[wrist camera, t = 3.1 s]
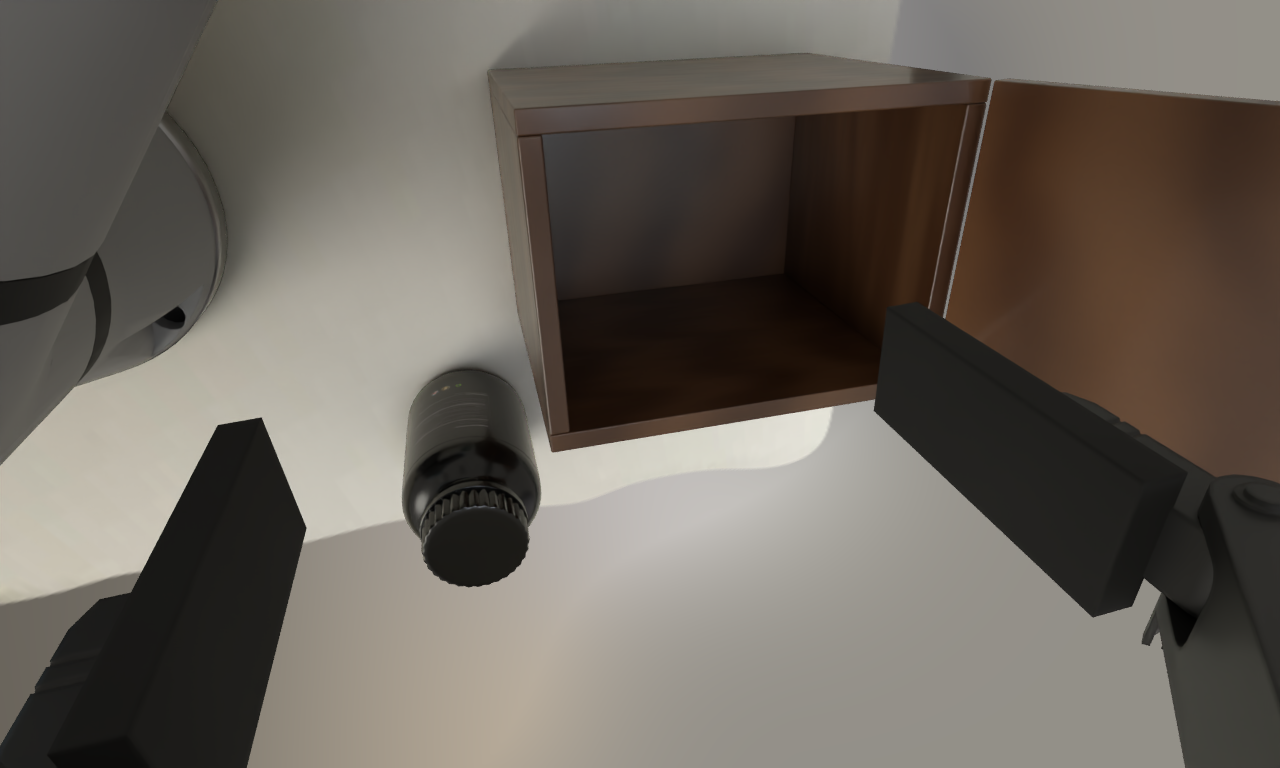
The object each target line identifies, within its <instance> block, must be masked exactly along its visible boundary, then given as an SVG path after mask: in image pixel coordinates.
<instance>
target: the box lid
mask: <svg viewBox="0 0 1280 768" xmlns="http://www.w3.org/2000/svg"><path fill="white" fill-rule="evenodd" d="M945 319H946V320H947V321H949V322H950V323H952V324H954V325H955V326H957V327H958V328H960V329H961V330H963V331H965V332H966V333H968V334H969V335H971V336H973V337H974V338H976V339H977V340H979V341H980V342H982V343H984V344H985V345H987V346H988V347H990V348H992V349H993V350H995V351H996V352H998V353H1000V354H1001V355H1003V356H1004V357H1006V358H1007V359H1009V360H1011V361H1012V362H1014V363H1015V364H1017V365H1019V366H1020V367H1022V368H1023V369H1025V370H1026V371H1028V372H1030V373H1031V374H1033V375H1034V376H1036V377H1038V378H1039V379H1041V380H1042V381H1044V382H1046V383H1047V384H1049V385H1050V386H1052V387H1053V388H1055V389H1057V390H1058V391H1060V392H1067V393H1069V394H1072V395H1075V396H1078V397H1080V398H1083V399H1086V400H1088V401H1091V402H1094V403H1096V404H1098V405H1099V406H1101V407H1103V408H1104V409H1106V410H1108V411H1109V412H1111V413H1112V414H1114V415H1116V416H1117V417H1119V418H1120V421H1121V422H1123V421H1125V422H1127V423H1129V424H1130V425H1132V426H1134V427H1135V428H1137V429H1138V430H1140V433H1141V434H1147V435H1148V436H1150V437H1152V438H1153V439H1155V440H1156V441H1158V442H1160V443H1161V444H1163V445H1165V446H1166V447H1168V448H1169V449H1171V450H1173V451H1174V452H1176V453H1178V454H1179V455H1181V456H1182V457H1184V458H1186V459H1187V460H1189V461H1191V462H1192V463H1194V464H1195V465H1197V466H1199V467H1200V468H1202V469H1204V470H1205V471H1207V472H1209V473H1210V474H1212V475H1213V476H1215V477H1219V476H1225V475H1232V474H1237V475H1248V476H1255V477H1259V478H1263V479H1267V480H1271V481H1275V482H1277V483H1279V484H1280V101H1269V100H1258V99H1246V98H1234V97H1222V96H1221V97H1220V96H1210V95H1198V94H1186V93H1174V92H1163V91H1150V90H1139V89H1127V88H1115V87H1103V86H1090V85H1079V84H1068V83H1056V82H1055V83H1054V82H1043V81H1031V80H1020V79H1003V80H996V81H995V82H994V86H993V91H992V96H991V100H990V105H989V111H988V115H987V120H986V125H985V130H984V134H983V140H982V144H981V149H980V154H979V159H978V163H977V168H976V173H975V178H974V183H973V188H972V193H971V197H970V202H969V208H968V212H967V217H966V222H965V226H964V231H963V236H962V241H961V246H960V251H959V255H958V261H957V265H956V270H955V275H954V280H953V285H952V289H951V294H950V299H949V304H948V309H947V314H946V318H945Z"/></svg>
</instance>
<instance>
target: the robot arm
mask: <svg viewBox="0 0 1280 768" xmlns="http://www.w3.org/2000/svg"><path fill="white" fill-rule="evenodd" d="M217 1H218V0H0V465H1V464H2V463H3V462H4V461H5V460H6V459H7V458H8V457H9V456H10V455H11V453H12V452H13V451H14V450H15V449H16V448H17V447H18V446H19V445H20V444H21V443H22V442H23V441H24V440H25V439H26V438H27V437H28V436H29V435H30V433H31V432H32V431H33V430H34V429H35V428H36V427H37V426H38V425H39V424H40V423H41V422H42V421H43V420H44V419H45V418H46V417H47V416H48V414H49V413H50V412H51V411H52V410H53V409H54V408H55V407H56V406H57V405H58V404H59V403H60V402H61V401H62V400H63V399H64V398H65V397H66V395H67V394H68V393H69V392H70V391H71V390H72V389H73V388H74V387H76V386H79V385H82V384H85V383H88V382H91V381H94V380H98V379H101V378H104V377H107V376H110V375H113V374H116V373H119V372H122V371H125V370H128V369H130V368H133V367H135V366H138V365H140V364H143V363H145V362H147V361H149V360H151V359H153V358H155V357H156V356H158V355H160V354H161V353H163V352H165V351H166V350H168V349H169V348H170V347H172V346H173V345H174V344H176V343H177V342H178V341H179V340H180V339H181V338H182V337H183V336H184V335H185V334H186V333H187V332H188V331H189V330H190V329H191V327H192V326H193V325H194V324H195V323H196V321H197V320H198V319H199V317H200V316H201V315H202V314H203V312H204V311H205V310H206V308H207V307H208V305H209V304H210V302H211V301H212V299H213V297H214V295H215V293H216V291H217V289H218V287H219V285H220V282H221V278H222V275H223V272H224V267H225V262H226V255H227V228H226V222H225V216H224V211H223V207H222V203H221V200H220V196H219V194H218V191H217V188H216V186H215V183H214V181H213V179H212V177H211V175H210V173H209V170H208V168H207V166H206V164H205V163H204V161H203V159H202V158H201V156H200V155H199V153H198V151H197V150H196V148H195V147H194V145H193V144H192V143H191V141H190V140H189V138H188V137H187V136H186V134H185V133H184V132H183V131H182V129H181V128H180V127H179V126H178V125H177V124H176V122H175V121H174V120H173V119H172V118H171V117H170V116H169V115H168V114H167V113H166V112H165V111H166V109H167V106H168V104H169V102H170V100H171V98H172V96H173V94H174V92H175V90H176V87H177V85H178V83H179V81H180V79H181V77H182V75H183V73H184V71H185V68H186V66H187V64H188V62H189V60H190V58H191V56H192V54H193V52H194V49H195V47H196V45H197V43H198V41H199V39H200V37H201V35H202V32H203V30H204V28H205V26H206V24H207V22H208V20H209V18H210V16H211V13H212V11H213V9H214V7H215V5H216V3H217ZM874 411H875V412H876V413H877V414H878V415H879V416H880V417H881V418H882V419H883V420H884V421H885V422H886V423H887V424H888V425H890V427H892V428H893V429H894V430H895V431H896V432H897V433H898V434H899V435H900V436H901V437H902V438H903V439H904V440H906V442H907V443H909V444H910V445H911V446H912V447H913V448H914V449H915V450H916V451H917V452H918V453H919V454H920V455H921V456H922V457H923V458H924V459H925V460H926V461H928V462H929V463H930V464H931V465H932V466H933V467H934V468H935V469H936V470H937V471H938V472H939V473H940V474H941V475H942V476H943V477H944V478H946V479H947V480H948V481H949V482H950V483H951V484H952V485H953V486H954V487H955V488H956V489H957V490H958V491H959V492H960V493H961V494H962V495H964V496H965V497H966V498H967V499H968V500H969V501H970V502H971V503H972V504H973V505H974V506H975V507H976V508H977V509H978V510H980V512H982V513H983V514H984V515H985V516H986V517H987V518H988V519H989V520H990V521H991V522H992V523H993V524H994V525H995V526H996V527H997V528H999V529H1000V530H1001V531H1002V532H1003V533H1004V534H1005V535H1006V536H1007V537H1008V538H1009V539H1010V540H1011V541H1012V542H1014V544H1015V545H1016V546H1018V547H1019V548H1020V549H1021V550H1022V551H1023V552H1024V553H1025V554H1026V555H1027V556H1028V557H1029V558H1030V559H1031V560H1032V561H1033V562H1035V563H1036V564H1037V565H1038V566H1039V567H1040V568H1041V569H1042V570H1043V571H1044V572H1045V573H1046V574H1047V575H1048V576H1050V578H1052V580H1054V581H1055V582H1056V583H1057V584H1058V585H1059V586H1060V587H1061V588H1062V589H1063V590H1064V591H1065V592H1066V593H1067V594H1068V595H1070V596H1071V597H1072V598H1073V599H1074V600H1075V601H1076V602H1077V603H1078V604H1079V605H1080V606H1081V607H1082V608H1083V609H1084V610H1085V611H1086V612H1087V613H1089V614H1090V615H1091V616H1092V617H1096V616H1099V615H1103V614H1107V613H1110V612H1114V611H1117V610H1121V609H1124V608H1128V607H1131V606H1132V605H1133V603H1134V600H1135V598H1136V596H1137V593H1138V591H1139V589H1140V586H1141V584H1142V581H1143V579H1144V578H1145V579H1146V580H1147V581H1148V582H1149V583H1151V584H1152V585H1153V586H1154V587H1156V588H1157V589H1158V590H1159V591H1160V592H1161V595H1160V597H1159V599H1158V602H1157V604H1156V606H1155V608H1154V611H1153V613H1152V615H1151V617H1150V620H1149V622H1148V624H1147V626H1146V629H1145V631H1144V633H1143V638H1142V644H1145V645H1148V646H1150V643H1151V642H1152V640H1153V637H1154V635H1155V634H1157V633H1159V632H1160V636H1161V641H1162V648H1161V649H1163V652H1164V657H1165V662H1166V667H1167V673H1168V678H1169V684H1170V689H1171V694H1172V700H1173V704H1174V710H1175V716H1176V720H1177V726H1178V731H1179V737H1180V742H1181V747H1182V753H1183V758H1184V763H1185V768H1280V484H1279V483H1277V482H1275V481H1271V480H1267V479H1263V478H1259V477H1255V476H1248V475H1237V474H1232V475H1225V476H1219V477H1215V476H1213V475H1212V474H1210V473H1209V472H1207V471H1205V470H1204V469H1202V468H1200V467H1199V466H1197V465H1195V464H1194V463H1192V462H1191V461H1189V460H1187V459H1186V458H1184V457H1182V456H1181V455H1179V454H1178V453H1176V452H1174V451H1173V450H1171V449H1169V448H1168V447H1166V446H1165V445H1163V444H1161V443H1160V442H1158V441H1156V440H1155V439H1153V438H1152V437H1150V436H1148V435H1147V434H1141V433H1140V430H1138V429H1137V428H1135V427H1134V426H1132V425H1130V424H1129V423H1127V422H1125V421H1123V422H1121V421H1120V418H1119V417H1117V416H1116V415H1114V414H1112V413H1111V412H1109V411H1108V410H1106V409H1104V408H1103V407H1101V406H1099V405H1098V404H1096V403H1094V402H1091V401H1088V400H1086V399H1083V398H1080V397H1078V396H1075V395H1072V394H1069V393H1067V392H1060V391H1058V390H1057V389H1055V388H1053V387H1052V386H1050V385H1049V384H1047V383H1046V382H1044V381H1042V380H1041V379H1039V378H1038V377H1036V376H1034V375H1033V374H1031V373H1030V372H1028V371H1026V370H1025V369H1023V368H1022V367H1020V366H1019V365H1017V364H1015V363H1014V362H1012V361H1011V360H1009V359H1007V358H1006V357H1004V356H1003V355H1001V354H1000V353H998V352H996V351H995V350H993V349H992V348H990V347H988V346H987V345H985V344H984V343H982V342H980V341H979V340H977V339H976V338H974V337H973V336H971V335H969V334H968V333H966V332H965V331H963V330H961V329H960V328H958V327H957V326H955V325H954V324H952V323H950V322H949V321H947V320H946V319H944V318H942V317H941V316H939V315H938V314H936V313H934V312H933V311H931V310H930V309H928V308H927V307H925V306H923V305H922V304H920V303H919V302H913V303H907V304H902V305H896V306H890V307H887V310H886V318H885V326H884V334H883V342H882V350H881V358H880V366H879V374H878V382H877V390H876V398H875V406H874ZM305 532H306V526H305V523H304V521H303V518H302V516H301V513H300V511H299V508H298V506H297V504H296V501H295V499H294V496H293V494H292V491H291V489H290V486H289V484H288V481H287V479H286V477H285V474H284V472H283V469H282V467H281V464H280V462H279V459H278V457H277V454H276V452H275V450H274V447H273V445H272V442H271V440H270V437H269V435H268V432H267V430H266V427H265V425H264V423H263V420H262V418H256V419H250V420H245V421H239V422H233V423H228V424H222V425H218V426H217V428H216V430H215V432H214V433H213V435H212V437H211V439H210V441H209V443H208V445H207V447H206V449H205V451H204V453H203V455H202V457H201V459H200V460H199V462H198V464H197V466H196V468H195V470H194V472H193V474H192V476H191V478H190V480H189V482H188V484H187V486H186V487H185V489H184V491H183V493H182V495H181V497H180V499H179V501H178V503H177V505H176V507H175V509H174V511H173V513H172V514H171V516H170V518H169V520H168V522H167V524H166V526H165V528H164V530H163V532H162V534H161V536H160V538H159V540H158V541H157V543H156V545H155V547H154V549H153V551H152V553H151V555H150V557H149V559H148V561H147V563H146V565H145V567H144V568H143V570H142V572H141V574H140V576H139V578H138V580H137V582H136V584H135V586H134V588H133V590H132V592H131V593H127V594H122V595H118V596H113V597H108V598H104V599H100V600H99V601H98V602H97V603H96V604H95V605H93V607H91V608H90V609H89V610H88V611H87V612H86V613H85V614H84V615H83V616H82V617H81V618H80V619H79V620H78V621H77V622H76V623H75V624H74V625H73V626H72V627H71V628H70V629H69V630H68V631H67V633H66V635H65V636H64V638H63V640H62V642H61V643H60V645H59V647H58V649H57V650H56V652H55V653H54V655H53V657H52V659H51V660H50V662H51V665H50V667H46V669H45V671H44V672H43V674H42V676H41V677H40V679H39V681H38V682H37V684H36V686H35V693H34V694H30V696H29V698H28V699H27V701H26V703H25V704H24V706H23V708H22V710H21V711H20V713H19V715H18V716H17V718H16V720H15V722H14V723H13V725H12V727H11V728H10V730H9V732H8V733H7V735H6V737H5V739H4V740H3V742H2V744H1V745H0V768H247V764H248V760H249V756H250V752H251V748H252V744H253V740H254V736H255V732H256V728H257V724H258V720H259V716H260V712H261V708H262V704H263V700H264V696H265V692H266V688H267V684H268V680H269V676H270V672H271V668H272V664H273V660H274V656H275V652H276V648H277V644H278V640H279V636H280V632H281V628H282V624H283V620H284V616H285V612H286V608H287V604H288V600H289V596H290V592H291V588H292V584H293V580H294V576H295V572H296V568H297V564H298V560H299V556H300V552H301V548H302V544H303V540H304V536H305Z"/></svg>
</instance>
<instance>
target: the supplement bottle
mask: <svg viewBox="0 0 1280 768" xmlns="http://www.w3.org/2000/svg"><path fill="white" fill-rule="evenodd" d="M540 500H541V485H540V478H539V473H538V469H537V464H536V459H535V455H534V450H533V445H532V441H531V436H530V432H529V427H528V422H527V418H526V414H525V410H524V407H523V404H522V402H521V399H520V398H519V396H518V394H517V393H516V392H515V390H514V389H513V388H512V387H511V386H510V385H509V384H507V383H506V382H505V381H503V380H502V379H500V378H498V377H496V376H494V375H492V374H489V373H485V372H481V371H473V370H464V371H456V372H452V373H448V374H445V375H443V376H440V377H438V378H436V379H435V380H433V381H432V382H430V383H429V384H427V385H426V386H425V387H424V388H423V389H422V390H421V391H420V392H419V394H418V395H417V396H416V398H415V400H414V401H413V404H412V406H411V409H410V412H409V417H408V427H407V437H406V450H405V463H404V475H403V488H402V508H403V513H404V516H405V519H406V521H407V523H408V525H409V526H410V528H411V529H412V531H413V532H414V533H415V534H416V535H417V536H418V537H419V538H420V539H421V542H422V548H421V549H422V550H421V551H422V554H423V560H424V562H425V563H426V564H427V567H428V569H429V570H431V571H432V572H433V574H434V575H435V576H438V577H439V578H440V580H443V581H446V582H448V583H449V584H455V585H457V586H466V587H472V586H477V587H479V586H482V585H489V584H491V583H493V582H497V581H499V580H500V579H502V578H505V577H507V576H508V575H509V574H510V573H512V572H514V571H515V569H516V567H518V566H519V565H520V564H521V562H522V560H523V559H524V558H525V555H526V552H527V550H528V543H529V540H530V539H529V533H528V527H529V526H530V524H531V523H532V521H533V519H534V518H535V516H536V514H537V511H538V509H539V505H540Z"/></svg>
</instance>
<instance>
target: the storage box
mask: <svg viewBox="0 0 1280 768" xmlns="http://www.w3.org/2000/svg"><path fill="white" fill-rule="evenodd" d="M488 80H489V88H490V96H491V103H492V111H493V119H494V127H495V135H496V143H497V151H498V159H499V167H500V175H501V183H502V191H503V199H504V207H505V215H506V223H507V230H508V238H509V246H510V254H511V262H512V270H513V278H514V286H515V294H516V302H517V310H518V315H519V319H520V324H521V328H522V332H523V336H524V340H525V344H526V348H527V352H528V356H529V361H530V365H531V369H532V373H533V377H534V381H535V385H536V389H537V393H538V398H539V402H540V406H541V410H542V414H543V418H544V422H545V426H546V431H547V435H548V439H549V443H550V447H551V451H552V452H559V451H565V450H571V449H577V448H583V447H589V446H595V445H601V444H607V443H613V442H619V441H625V440H631V439H637V438H644V437H650V436H656V435H662V434H668V433H674V432H680V431H686V430H692V429H698V428H704V427H710V426H716V425H722V424H728V423H735V422H741V421H747V420H753V419H759V418H765V417H771V416H777V415H783V414H789V413H795V412H801V411H807V410H813V409H820V408H826V407H832V406H838V405H843V404H850V403H856V402H862V401H868V400H874V399H875V398H876V390H877V382H878V374H879V366H880V358H881V350H882V342H883V334H884V326H885V318H886V310H887V307H890V306H896V305H902V304H907V303H913V302H919V303H920V304H922V305H923V306H925V307H927V308H928V309H930V310H931V311H933V312H934V313H936V314H938V315H939V316H941V317H942V318H943V314H944V309H945V304H946V299H947V294H948V290H949V285H950V280H951V275H952V270H953V265H954V260H955V255H956V250H957V245H958V240H959V236H960V231H961V226H962V221H963V216H964V211H965V206H966V202H967V197H968V192H969V187H970V182H971V177H972V172H973V167H974V162H975V157H976V153H977V147H978V143H979V138H980V133H981V128H982V123H983V118H984V113H985V108H986V103H985V102H987V99H988V95H989V90H990V84H991V78H986V77H979V76H972V75H964V74H957V73H949V72H942V71H935V70H928V69H921V68H913V67H906V66H899V65H892V64H884V63H877V62H870V61H862V60H855V59H848V58H841V57H833V56H826V55H819V54H811V53H796V54H777V55H758V56H739V57H720V58H701V59H682V60H664V61H645V62H626V63H607V64H588V65H569V66H550V67H531V68H512V69H493V70H488Z"/></svg>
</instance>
